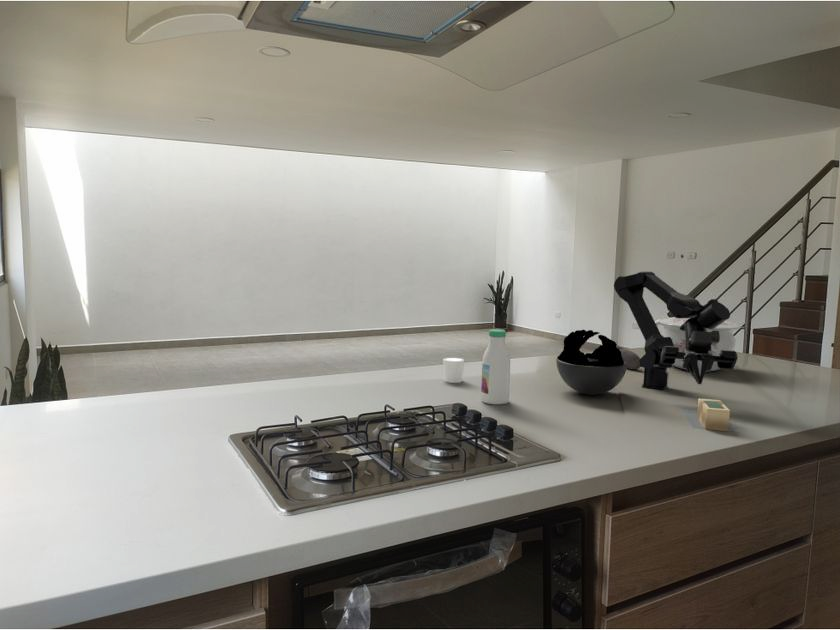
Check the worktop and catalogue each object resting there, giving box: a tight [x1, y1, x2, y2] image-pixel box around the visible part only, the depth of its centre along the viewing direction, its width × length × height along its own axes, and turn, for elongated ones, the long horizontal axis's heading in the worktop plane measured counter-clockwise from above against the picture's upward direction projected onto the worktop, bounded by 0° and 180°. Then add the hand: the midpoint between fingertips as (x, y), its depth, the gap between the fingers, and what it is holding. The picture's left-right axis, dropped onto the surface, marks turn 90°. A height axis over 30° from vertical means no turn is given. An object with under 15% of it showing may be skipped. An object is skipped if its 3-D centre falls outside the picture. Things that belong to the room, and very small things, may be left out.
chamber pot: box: [654, 316, 742, 373], centre depth 214 cm, size 28×28×21 cm
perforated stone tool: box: [616, 346, 641, 371], centre depth 212 cm, size 15×5×7 cm, turn 24°
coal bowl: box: [555, 329, 628, 396], centre depth 172 cm, size 20×20×19 cm
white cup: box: [442, 357, 465, 384], centre depth 186 cm, size 7×7×7 cm
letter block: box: [696, 398, 731, 432], centre depth 143 cm, size 5×5×10 cm
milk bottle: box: [480, 328, 511, 406], centre depth 161 cm, size 8×8×20 cm
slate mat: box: [681, 408, 740, 433], centre depth 147 cm, size 17×10×1 cm, turn 165°
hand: (699, 383), depth 157 cm, fingers closed
